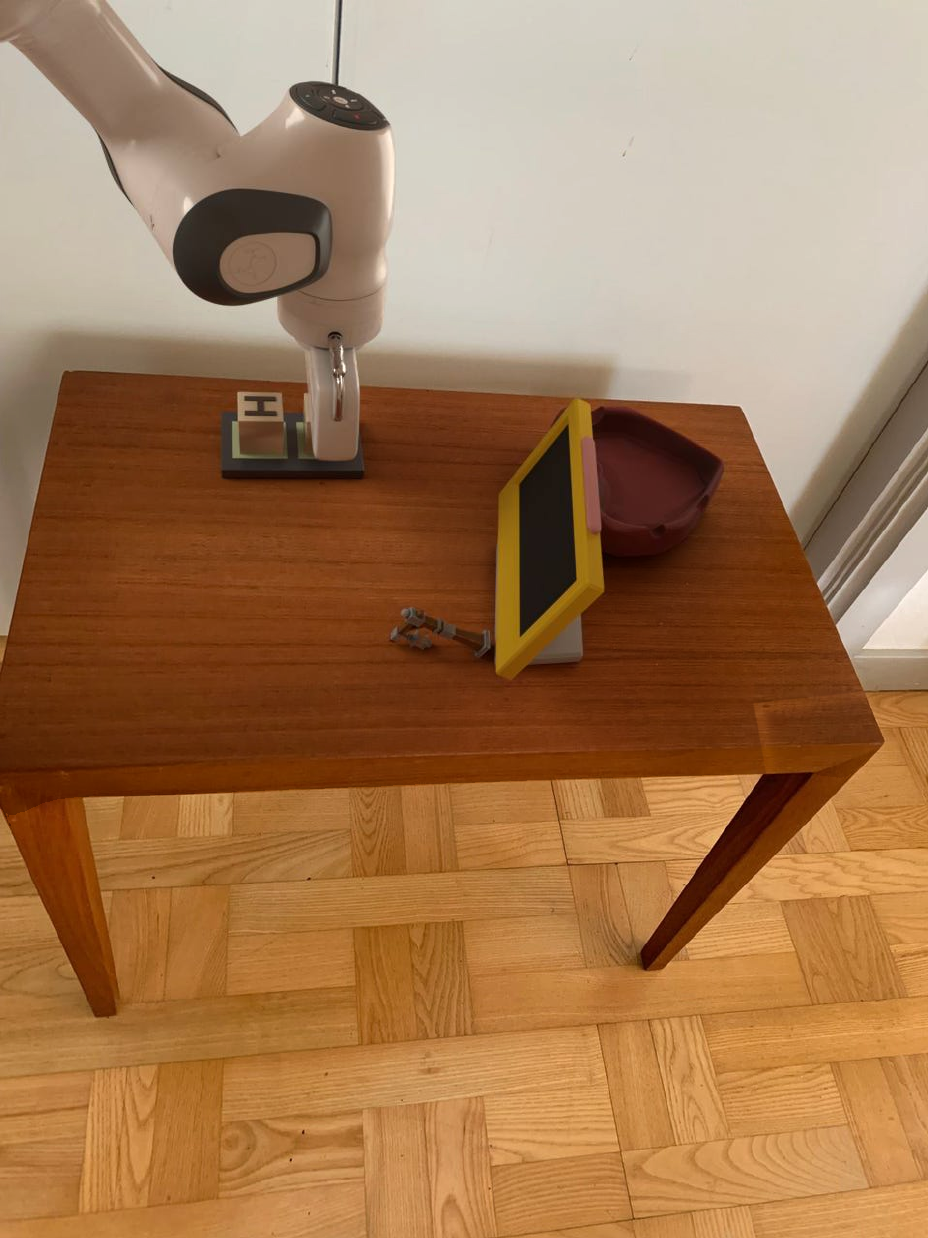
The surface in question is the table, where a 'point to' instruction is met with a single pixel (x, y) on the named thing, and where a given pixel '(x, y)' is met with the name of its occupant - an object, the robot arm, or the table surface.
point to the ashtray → (648, 481)
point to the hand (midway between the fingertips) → (325, 427)
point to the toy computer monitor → (548, 548)
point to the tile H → (260, 423)
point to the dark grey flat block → (281, 455)
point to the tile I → (307, 426)
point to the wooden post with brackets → (443, 629)
